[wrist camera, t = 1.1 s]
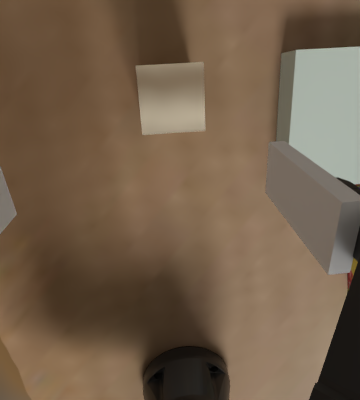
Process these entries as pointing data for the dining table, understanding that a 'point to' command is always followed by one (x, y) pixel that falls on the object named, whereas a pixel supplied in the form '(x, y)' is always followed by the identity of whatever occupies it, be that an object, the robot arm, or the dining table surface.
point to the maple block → (171, 97)
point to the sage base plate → (322, 108)
